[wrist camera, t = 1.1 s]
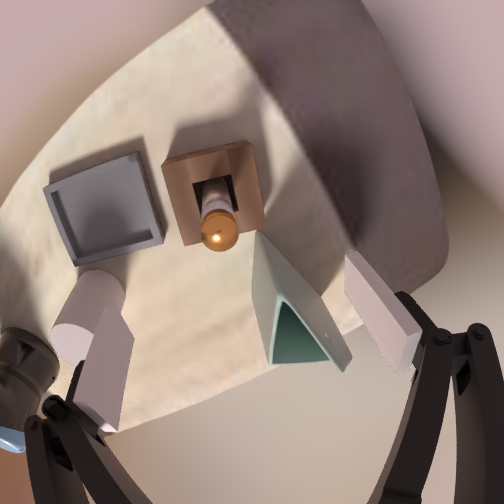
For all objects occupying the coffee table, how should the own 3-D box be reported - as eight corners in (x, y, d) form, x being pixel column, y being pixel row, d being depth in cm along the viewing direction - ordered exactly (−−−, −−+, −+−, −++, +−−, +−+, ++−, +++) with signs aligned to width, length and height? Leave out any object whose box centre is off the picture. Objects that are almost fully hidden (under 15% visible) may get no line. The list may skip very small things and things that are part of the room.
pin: (205, 201, 36) (206, 255, 24) (200, 179, 35) (196, 222, 22) (229, 195, 36) (241, 246, 24) (224, 173, 35) (234, 213, 23)
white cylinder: (75, 265, 37) (43, 317, 27) (124, 273, 39) (103, 330, 29) (80, 308, 41) (57, 362, 30) (125, 316, 43) (111, 373, 32)
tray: (79, 260, 37) (74, 266, 35) (48, 184, 31) (42, 188, 29) (165, 237, 38) (163, 243, 36) (138, 150, 32) (135, 153, 30)
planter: (215, 265, 41) (225, 380, 24) (258, 229, 39) (300, 333, 22) (283, 324, 48) (317, 424, 31) (321, 296, 46) (372, 393, 29)
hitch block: (186, 232, 38) (184, 246, 34) (165, 159, 33) (160, 165, 29) (260, 215, 38) (266, 227, 35) (247, 140, 33) (251, 144, 30)
